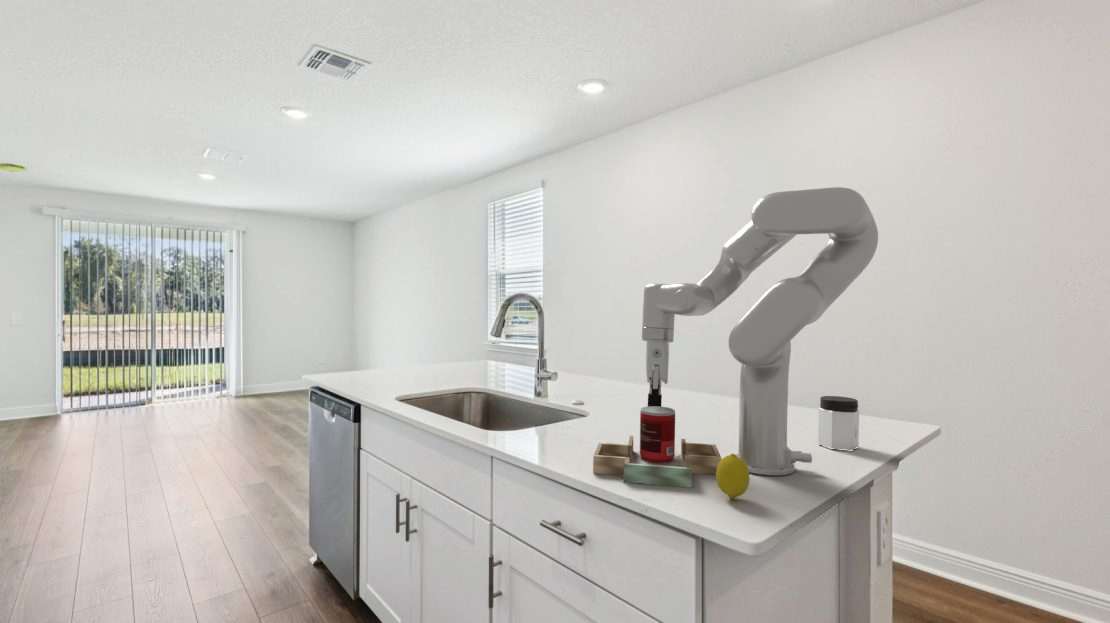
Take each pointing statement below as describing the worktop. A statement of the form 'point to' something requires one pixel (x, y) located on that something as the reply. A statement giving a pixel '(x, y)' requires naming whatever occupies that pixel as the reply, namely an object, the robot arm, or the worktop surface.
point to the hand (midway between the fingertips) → (654, 410)
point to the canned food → (657, 434)
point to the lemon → (732, 476)
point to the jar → (838, 422)
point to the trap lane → (619, 456)
